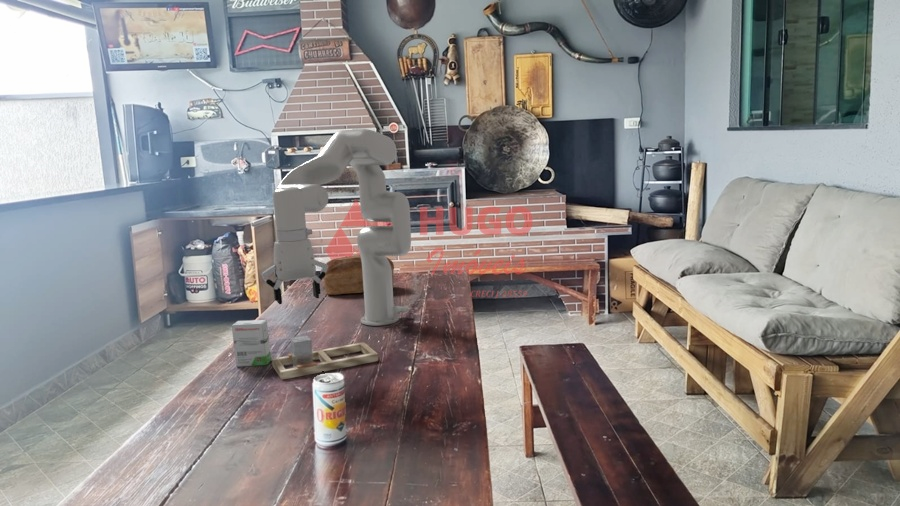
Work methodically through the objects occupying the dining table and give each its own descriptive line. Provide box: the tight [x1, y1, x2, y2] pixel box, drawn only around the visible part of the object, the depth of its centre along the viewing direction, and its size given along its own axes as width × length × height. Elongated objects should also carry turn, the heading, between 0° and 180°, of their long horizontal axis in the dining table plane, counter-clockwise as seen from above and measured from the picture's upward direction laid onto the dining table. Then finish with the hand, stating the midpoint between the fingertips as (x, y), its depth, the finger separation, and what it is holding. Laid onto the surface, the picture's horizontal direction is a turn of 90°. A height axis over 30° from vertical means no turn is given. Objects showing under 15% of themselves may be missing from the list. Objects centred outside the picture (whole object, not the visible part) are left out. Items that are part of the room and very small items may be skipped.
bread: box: [323, 254, 395, 296], centre depth 256 cm, size 12×28×14 cm, turn 98°
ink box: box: [231, 319, 272, 368], centre depth 176 cm, size 9×5×12 cm, turn 89°
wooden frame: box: [271, 341, 379, 380], centre depth 174 cm, size 26×12×2 cm, turn 116°
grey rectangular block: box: [289, 334, 314, 368], centre depth 171 cm, size 4×4×8 cm
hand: (298, 300), depth 169 cm, fingers open, 9 cm apart
